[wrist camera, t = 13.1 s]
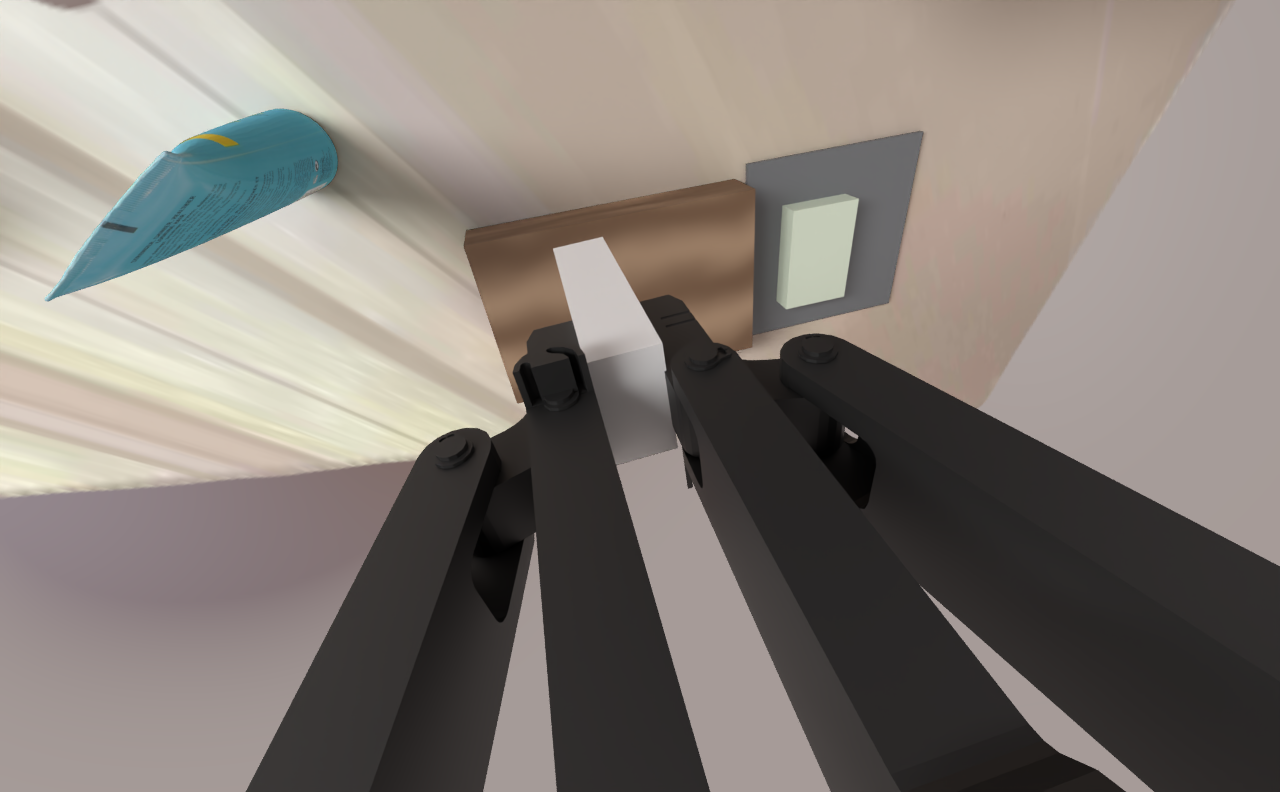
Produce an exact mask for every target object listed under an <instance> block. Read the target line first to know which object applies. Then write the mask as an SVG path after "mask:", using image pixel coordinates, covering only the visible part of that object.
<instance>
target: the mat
mask: <svg viewBox="0 0 1280 792" xmlns="http://www.w3.org/2000/svg"><path fill="white" fill-rule="evenodd" d="M922 135H923V131H918V132H912V133H907V134H902V135H897V136H891V137H886V138H881V139H875V140H870V141H865V142H859V143H854V144H849V145H843V146H838V147H833V148H827V149H822V150H817V151H811V152H806V153H801V154H795V155H790V156H785V157H780V158H774V159H769V160H764V161H758V162H753V163H748V164H746V185H748V186H750V187H752V188H754V189H755V236H754V283H753V330H752V335H755V334H759V333H763V332H768V331H772V330H776V329H780V328H784V327H789V326H793V325H797V324H801V323H806V322H810V321H814V320H818V319H823V318H827V317H831V316H835V315H839V314H844V313H848V312H852V311H856V310H861V309H865V308H869V307H873V306H877V305H882V304H886V303H889V298H890V293H891V288H892V283H893V278H894V273H895V269H896V264H897V259H898V254H899V249H900V244H901V239H902V234H903V229H904V224H905V219H906V214H907V209H908V204H909V200H910V195H911V190H912V185H913V180H914V175H915V170H916V165H917V160H918V155H919V150H920V145H921V140H922ZM841 194H847V195H850V196H853V197H856V198H858V199H859V201H858V208H857V215H856V221H855V228H854V234H853V241H852V247H851V254H850V261H849V267H848V274H847V280H846V287H845V293H844V297H840V298H835V299H831V300H826V301H822V302H817V303H813V304H808V305H804V306H799V307H794V308H790V309H785V308H784V307H783V306H782V305H781V304H779V303H778V302H777V301H776V299H777V283H778V267H779V251H780V235H781V219H782V206H783V205H788V204H793V203H799V202H804V201H809V200H814V199H820V198H825V197H830V196H836V195H841Z"/></svg>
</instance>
